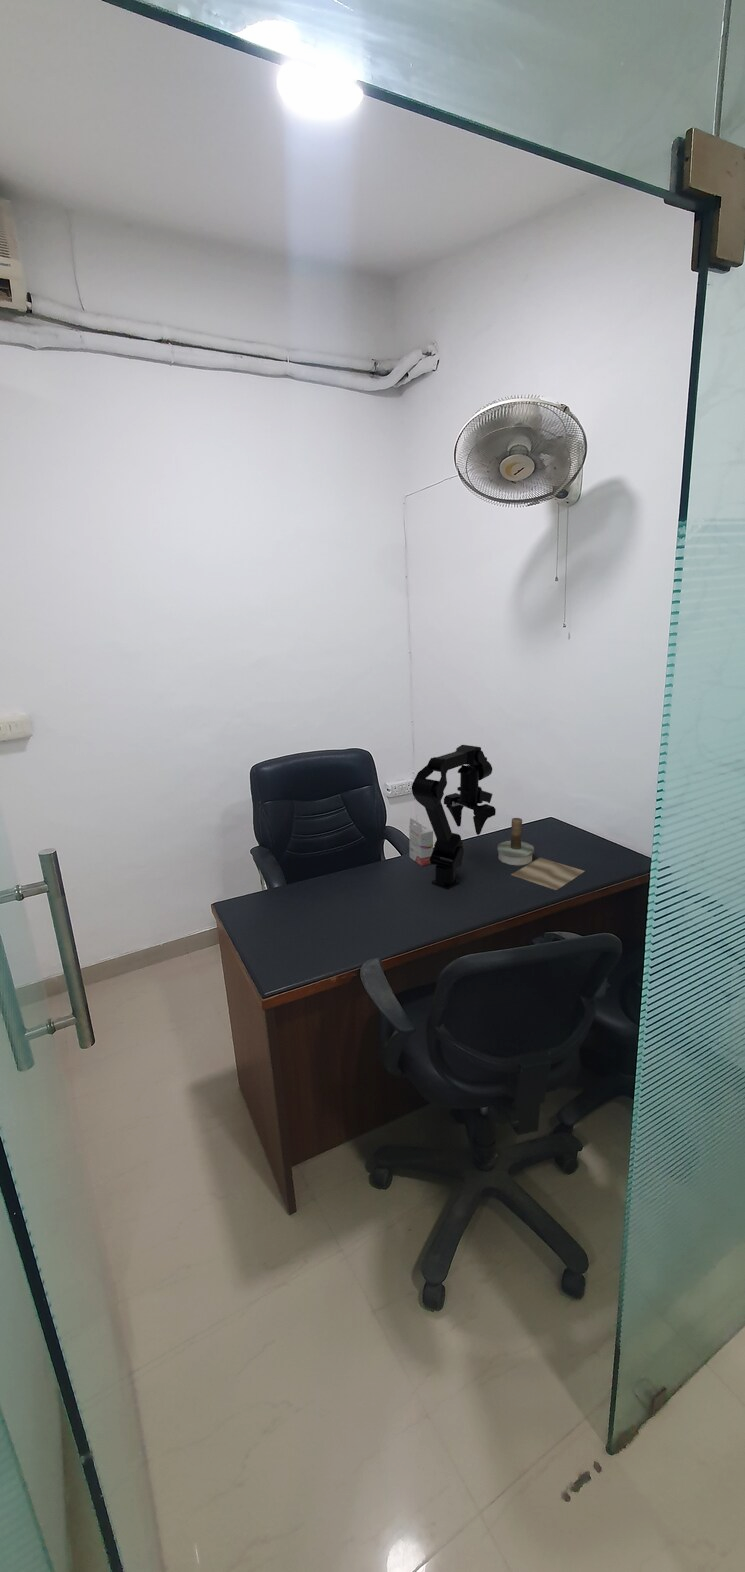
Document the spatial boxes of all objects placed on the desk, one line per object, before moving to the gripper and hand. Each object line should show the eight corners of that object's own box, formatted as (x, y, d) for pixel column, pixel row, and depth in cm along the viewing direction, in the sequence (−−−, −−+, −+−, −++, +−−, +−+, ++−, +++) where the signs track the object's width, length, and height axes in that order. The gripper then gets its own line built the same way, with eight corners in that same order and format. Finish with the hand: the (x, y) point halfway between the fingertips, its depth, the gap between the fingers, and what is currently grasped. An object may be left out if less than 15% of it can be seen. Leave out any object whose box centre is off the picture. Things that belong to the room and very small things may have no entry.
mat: (556, 891, 182) (556, 890, 182) (510, 875, 193) (510, 874, 193) (584, 871, 194) (584, 871, 194) (540, 858, 205) (540, 857, 205)
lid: (532, 859, 197) (534, 827, 193) (495, 855, 200) (496, 824, 197) (535, 845, 207) (537, 815, 204) (499, 841, 211) (501, 812, 208)
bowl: (520, 868, 197) (520, 859, 197) (492, 859, 205) (492, 850, 204) (538, 858, 205) (538, 849, 204) (510, 849, 212) (510, 841, 211)
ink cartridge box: (433, 863, 203) (434, 822, 199) (421, 866, 201) (420, 825, 197) (421, 854, 211) (421, 814, 206) (408, 857, 209) (408, 817, 204)
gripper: (509, 786, 188) (507, 833, 193) (468, 773, 203) (467, 817, 208) (482, 793, 182) (481, 841, 187) (442, 779, 197) (442, 824, 202)
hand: (468, 830), depth 196 cm, fingers open, 9 cm apart
